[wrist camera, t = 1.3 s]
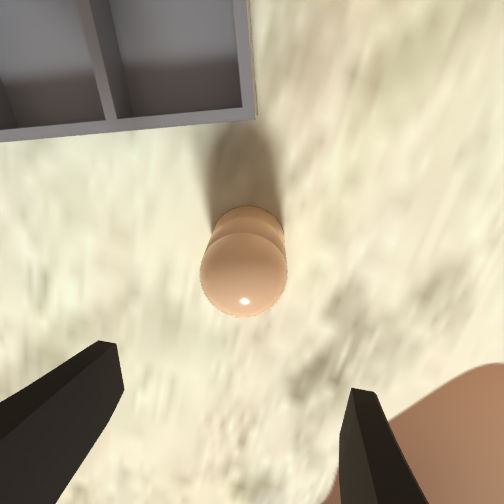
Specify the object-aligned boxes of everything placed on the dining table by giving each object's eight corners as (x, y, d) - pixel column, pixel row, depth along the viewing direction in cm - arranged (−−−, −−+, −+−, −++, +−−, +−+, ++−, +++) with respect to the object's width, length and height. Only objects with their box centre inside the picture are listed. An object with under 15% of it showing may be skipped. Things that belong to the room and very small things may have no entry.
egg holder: (-78, 145, 19) (-137, 154, 16) (-146, 2, 16) (-231, -16, 13) (257, 114, 17) (255, 119, 14) (245, -49, 14) (239, -81, 12)
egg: (217, 273, 21) (199, 338, 16) (207, 208, 19) (183, 255, 14) (285, 269, 21) (291, 334, 15) (282, 203, 19) (287, 249, 14)
